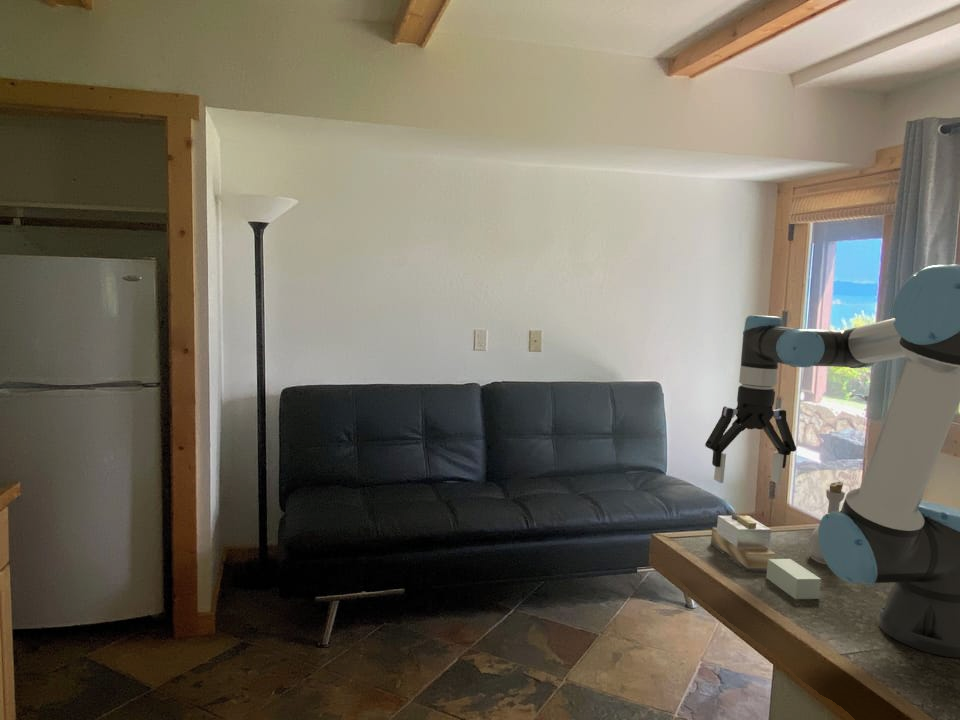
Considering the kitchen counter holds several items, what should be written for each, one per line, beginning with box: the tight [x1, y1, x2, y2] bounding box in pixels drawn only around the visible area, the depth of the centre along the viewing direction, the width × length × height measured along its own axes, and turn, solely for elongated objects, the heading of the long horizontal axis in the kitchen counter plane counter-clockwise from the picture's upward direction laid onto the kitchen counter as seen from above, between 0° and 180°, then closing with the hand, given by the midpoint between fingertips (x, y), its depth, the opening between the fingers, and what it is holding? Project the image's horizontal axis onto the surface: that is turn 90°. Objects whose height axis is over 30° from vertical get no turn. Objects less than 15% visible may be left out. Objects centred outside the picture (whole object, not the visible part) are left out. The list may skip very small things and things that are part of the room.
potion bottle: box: [807, 481, 846, 566], centre depth 154 cm, size 9×9×18 cm
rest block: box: [765, 558, 822, 600], centre depth 138 cm, size 10×5×4 cm, turn 9°
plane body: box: [710, 527, 776, 573], centre depth 153 cm, size 16×6×4 cm, turn 9°
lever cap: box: [716, 513, 772, 548], centre depth 153 cm, size 9×8×5 cm
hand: (747, 481), depth 152 cm, fingers open, 13 cm apart
